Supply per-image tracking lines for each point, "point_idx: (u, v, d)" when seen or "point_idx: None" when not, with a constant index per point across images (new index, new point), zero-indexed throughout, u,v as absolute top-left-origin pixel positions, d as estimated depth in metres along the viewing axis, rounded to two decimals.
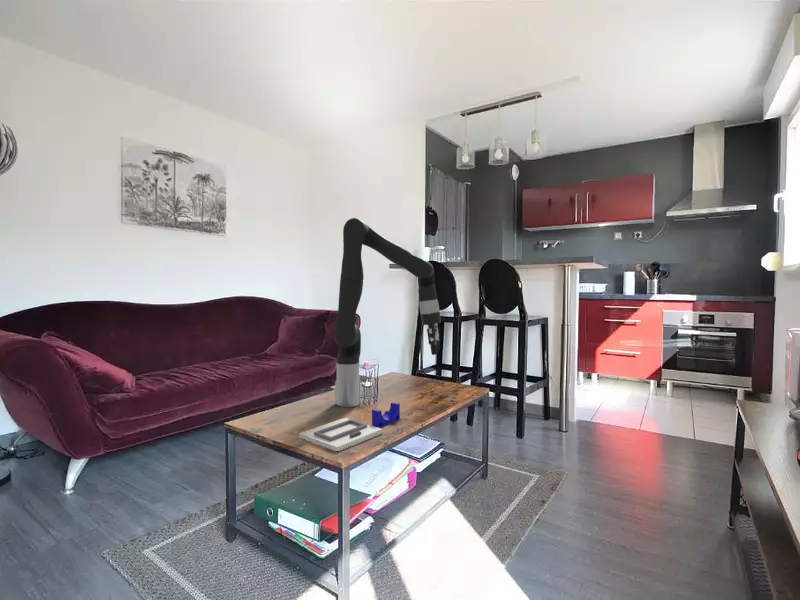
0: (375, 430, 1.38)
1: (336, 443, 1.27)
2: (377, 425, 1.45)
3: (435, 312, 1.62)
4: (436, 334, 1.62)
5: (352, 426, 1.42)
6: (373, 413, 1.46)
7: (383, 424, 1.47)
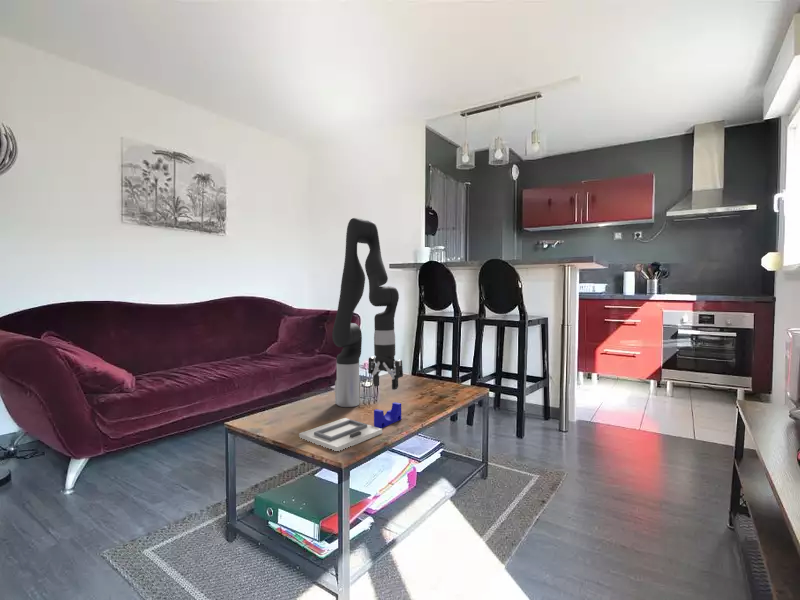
0: (375, 430, 1.38)
1: (336, 443, 1.27)
2: (379, 425, 1.45)
3: (374, 343, 1.50)
4: (375, 366, 1.51)
5: (352, 426, 1.42)
6: (375, 413, 1.46)
7: (385, 424, 1.47)
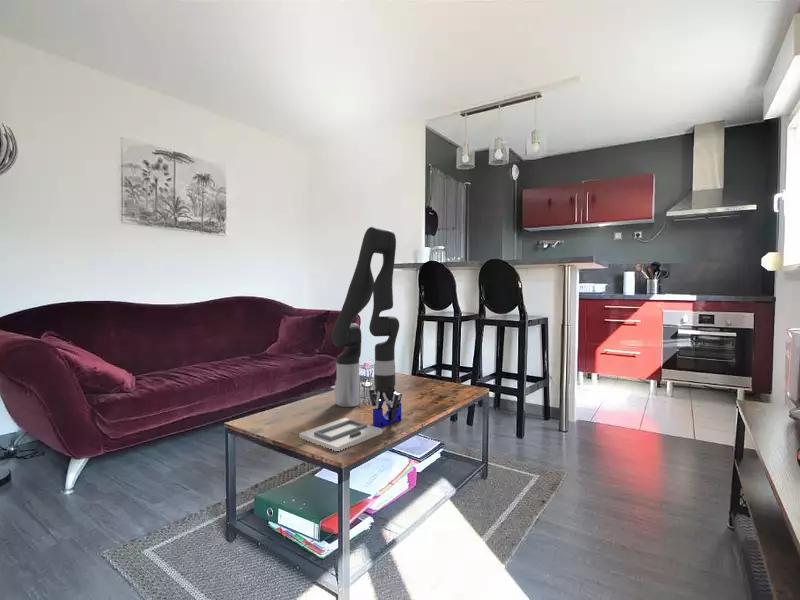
0: (375, 430, 1.38)
1: (336, 443, 1.27)
2: (378, 425, 1.45)
3: (374, 373, 1.50)
4: (376, 398, 1.51)
5: (352, 426, 1.42)
6: (374, 413, 1.46)
7: (384, 424, 1.47)
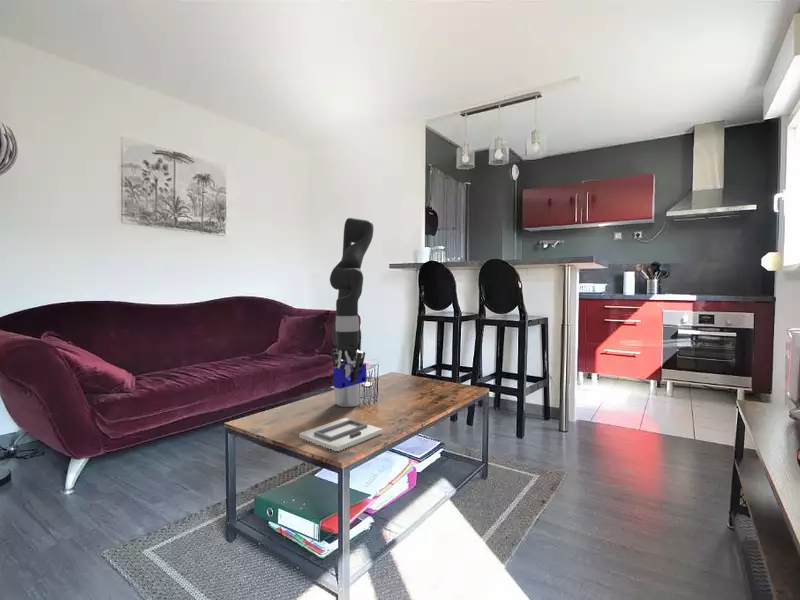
0: (375, 430, 1.38)
1: (336, 443, 1.27)
2: (339, 385, 1.33)
3: None
4: (338, 357, 1.38)
5: (352, 426, 1.42)
6: (335, 372, 1.34)
7: (346, 384, 1.34)
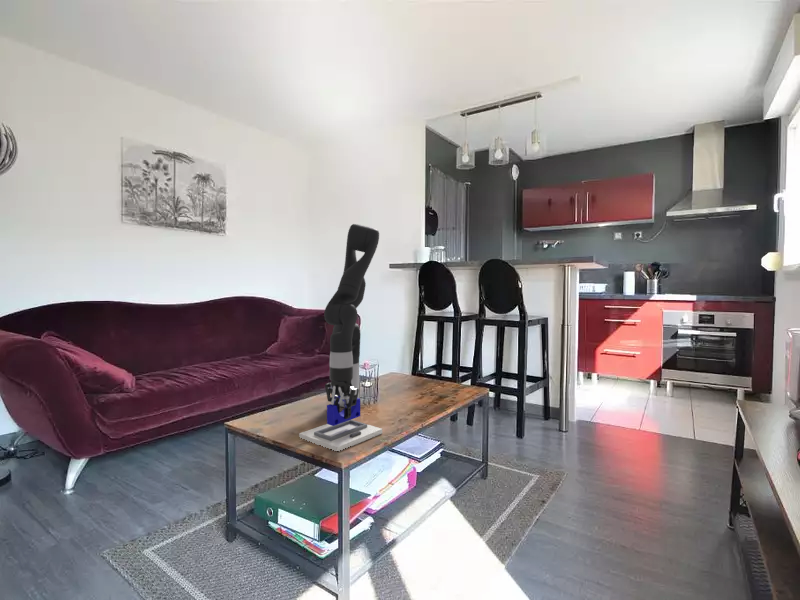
0: (375, 430, 1.38)
1: (336, 443, 1.27)
2: (332, 422, 1.32)
3: None
4: (332, 393, 1.38)
5: (352, 426, 1.42)
6: (328, 409, 1.33)
7: (339, 421, 1.34)
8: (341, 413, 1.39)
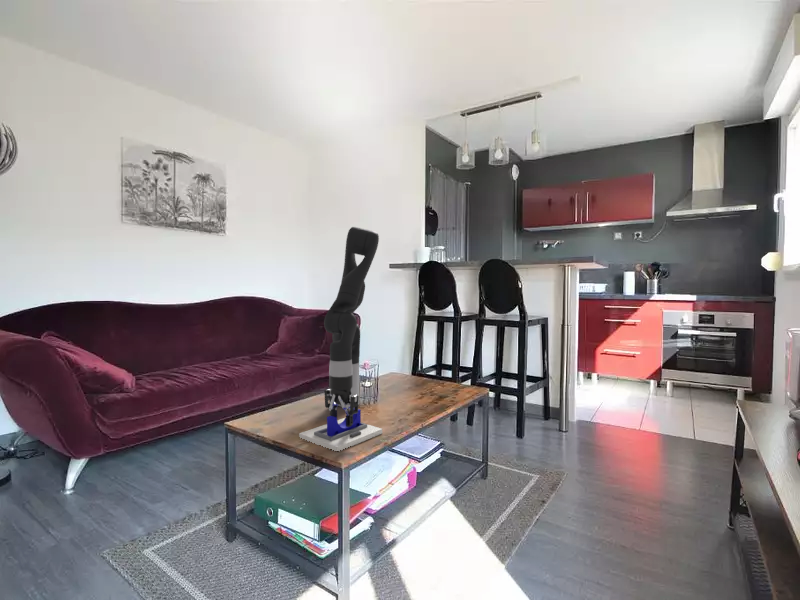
0: (375, 430, 1.38)
1: (336, 443, 1.27)
2: (332, 434, 1.32)
3: None
4: (331, 400, 1.38)
5: None
6: (328, 420, 1.33)
7: (339, 433, 1.34)
8: (341, 424, 1.39)
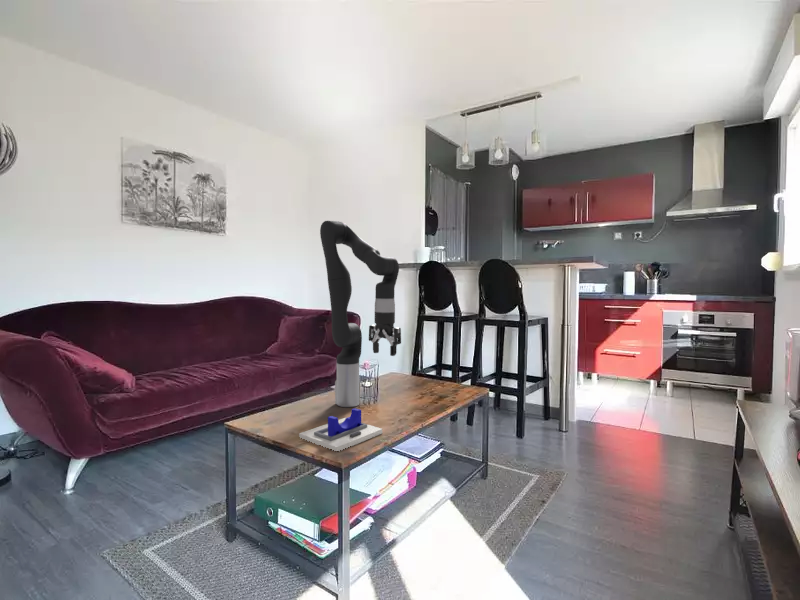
0: (375, 430, 1.38)
1: (336, 443, 1.27)
2: (333, 434, 1.32)
3: None
4: (375, 333, 1.57)
5: None
6: (329, 421, 1.33)
7: None
8: (342, 425, 1.39)
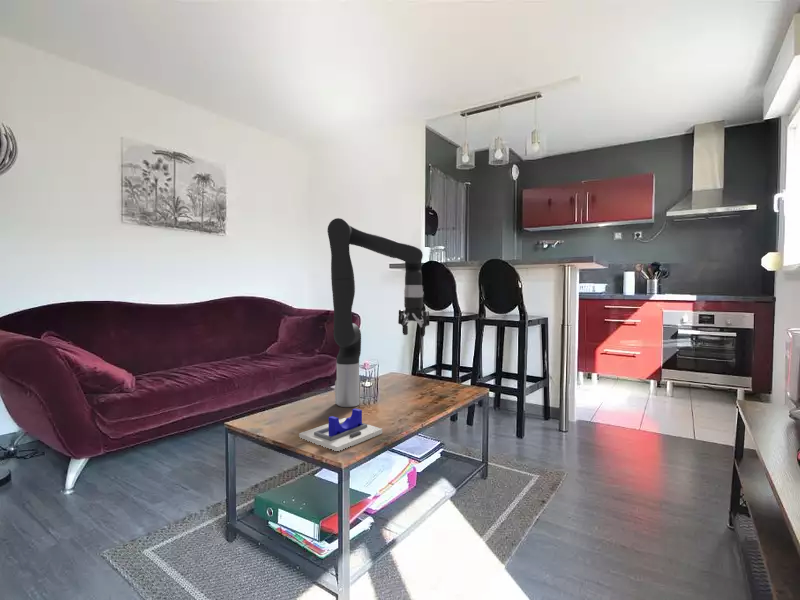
0: (375, 430, 1.38)
1: (336, 443, 1.27)
2: (334, 434, 1.32)
3: (404, 297, 1.72)
4: None
5: None
6: (330, 421, 1.33)
7: None
8: (343, 425, 1.39)
